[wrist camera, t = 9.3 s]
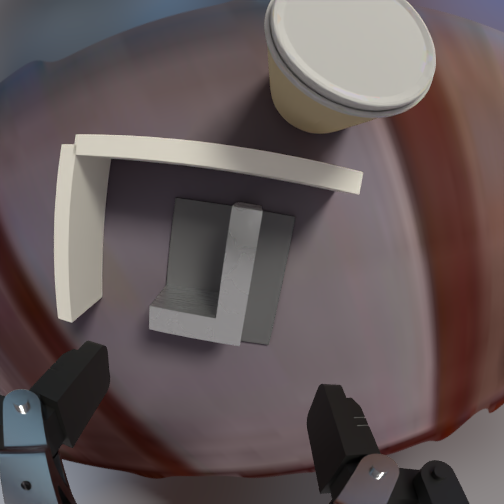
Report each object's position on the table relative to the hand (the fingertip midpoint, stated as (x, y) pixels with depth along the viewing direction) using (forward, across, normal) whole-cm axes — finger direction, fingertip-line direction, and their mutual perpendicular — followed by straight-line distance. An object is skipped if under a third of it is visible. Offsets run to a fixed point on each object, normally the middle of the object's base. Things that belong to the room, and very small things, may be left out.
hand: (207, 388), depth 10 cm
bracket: (+16, +2, -1) cm, 16 cm away
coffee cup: (+16, -4, -16) cm, 23 cm away
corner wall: (+16, +3, -2) cm, 17 cm away
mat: (+16, +1, +1) cm, 16 cm away
